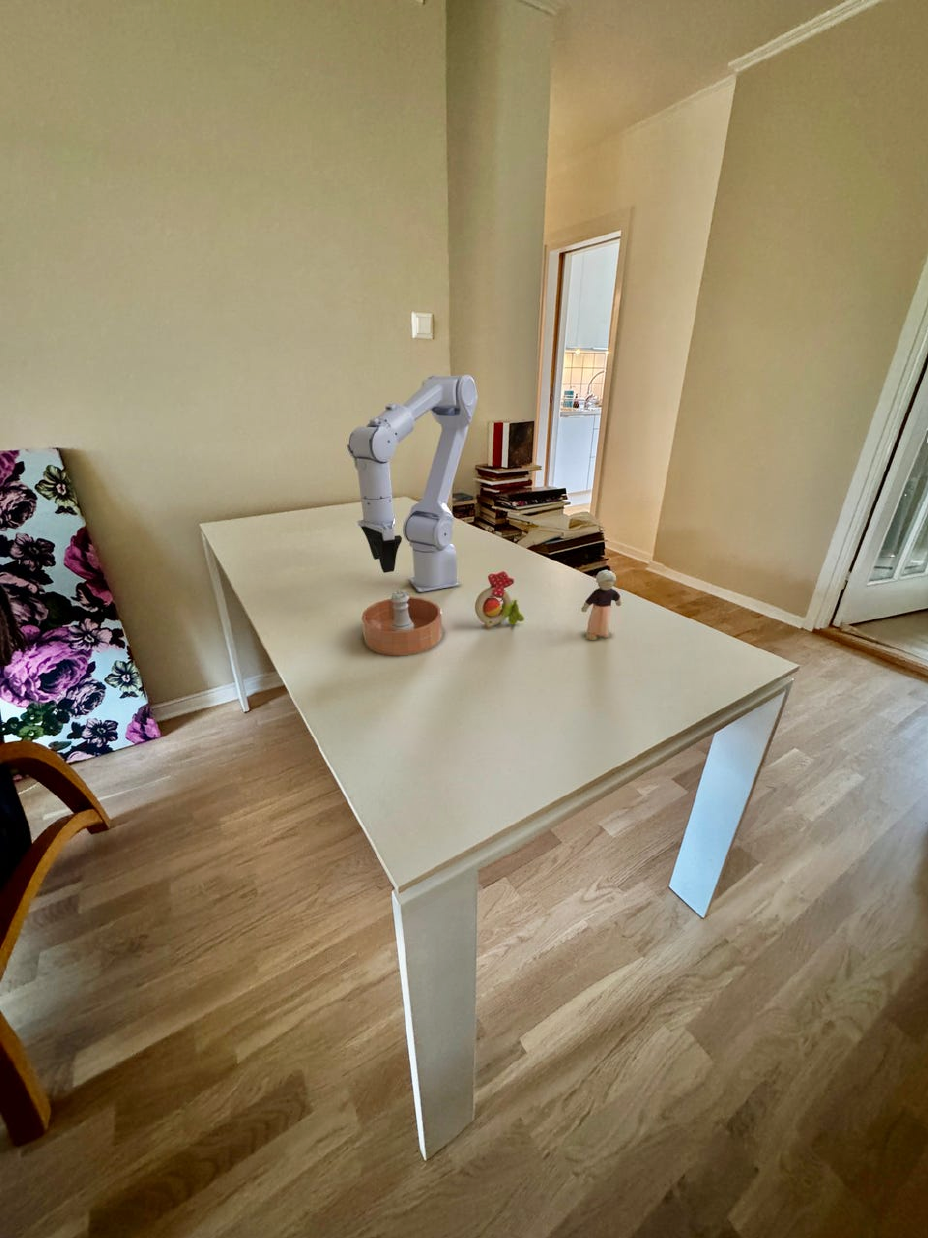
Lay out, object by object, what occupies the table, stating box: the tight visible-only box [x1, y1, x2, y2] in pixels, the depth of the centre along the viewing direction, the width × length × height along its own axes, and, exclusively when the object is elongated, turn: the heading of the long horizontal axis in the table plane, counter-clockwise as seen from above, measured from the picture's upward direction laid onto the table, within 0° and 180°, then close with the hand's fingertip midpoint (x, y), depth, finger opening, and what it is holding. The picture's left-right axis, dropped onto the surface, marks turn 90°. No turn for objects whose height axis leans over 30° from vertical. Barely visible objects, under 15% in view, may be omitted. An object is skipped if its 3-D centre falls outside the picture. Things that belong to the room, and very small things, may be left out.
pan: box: [361, 596, 443, 656], centre depth 88 cm, size 14×14×4 cm
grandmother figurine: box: [580, 569, 622, 641], centre depth 85 cm, size 8×4×13 cm, turn 117°
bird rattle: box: [474, 570, 525, 629], centre depth 89 cm, size 6×11×9 cm
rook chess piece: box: [390, 590, 414, 631], centre depth 87 cm, size 4×4×8 cm
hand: (383, 564), depth 95 cm, fingers open, 7 cm apart
